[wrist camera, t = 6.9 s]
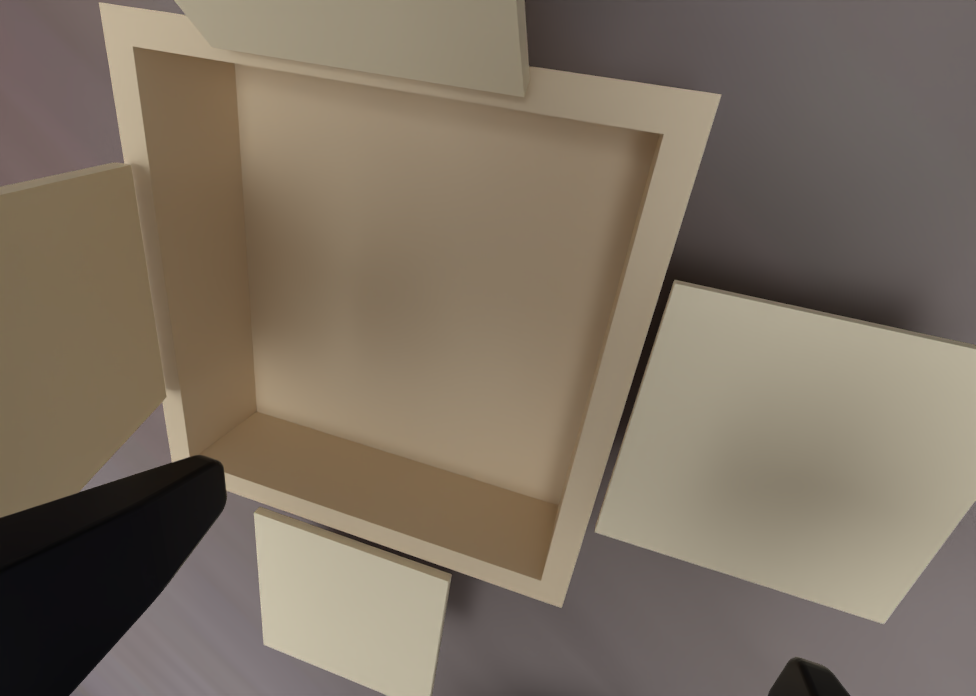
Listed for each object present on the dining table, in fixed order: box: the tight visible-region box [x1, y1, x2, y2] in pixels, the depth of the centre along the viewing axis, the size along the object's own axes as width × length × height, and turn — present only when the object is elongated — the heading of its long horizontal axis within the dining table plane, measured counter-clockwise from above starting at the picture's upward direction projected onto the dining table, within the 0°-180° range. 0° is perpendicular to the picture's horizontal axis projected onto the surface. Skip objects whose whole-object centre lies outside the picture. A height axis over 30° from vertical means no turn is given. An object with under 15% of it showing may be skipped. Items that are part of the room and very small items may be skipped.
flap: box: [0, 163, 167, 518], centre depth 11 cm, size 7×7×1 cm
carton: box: [99, 2, 976, 696], centre depth 16 cm, size 21×21×4 cm
